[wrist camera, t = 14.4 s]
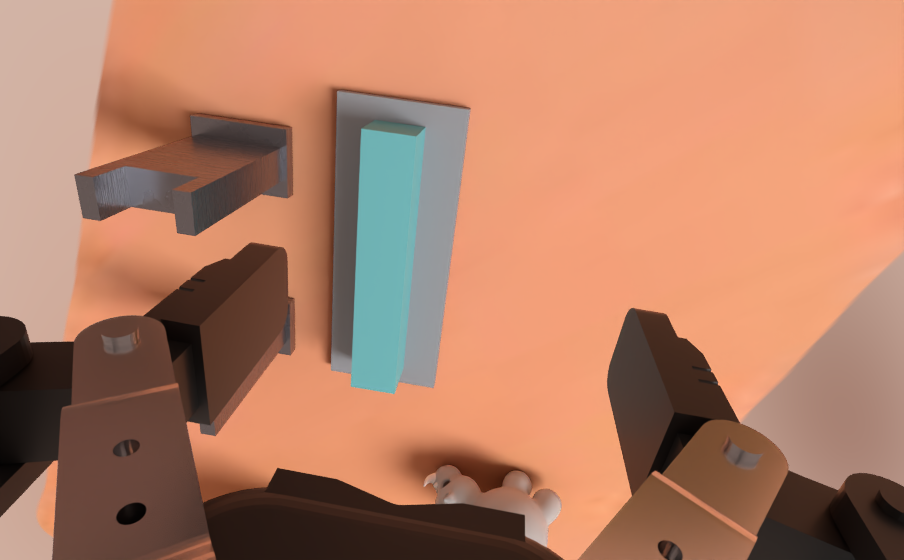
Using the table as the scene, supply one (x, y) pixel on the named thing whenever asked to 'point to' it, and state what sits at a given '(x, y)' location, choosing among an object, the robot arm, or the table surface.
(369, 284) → the rail bar
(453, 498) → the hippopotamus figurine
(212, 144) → the bracket stand
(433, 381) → the rubber mat
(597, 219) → the table surface
